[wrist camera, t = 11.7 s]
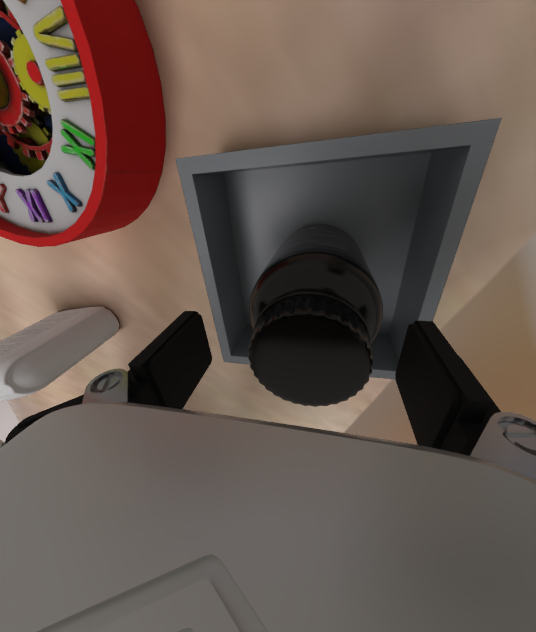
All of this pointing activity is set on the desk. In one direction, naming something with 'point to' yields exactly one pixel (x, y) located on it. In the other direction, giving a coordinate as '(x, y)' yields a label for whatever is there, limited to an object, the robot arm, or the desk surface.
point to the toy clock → (76, 119)
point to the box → (338, 218)
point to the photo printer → (51, 348)
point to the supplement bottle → (315, 318)
